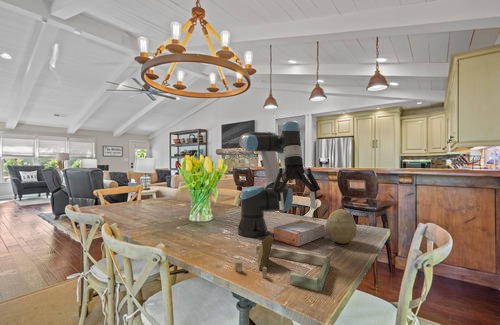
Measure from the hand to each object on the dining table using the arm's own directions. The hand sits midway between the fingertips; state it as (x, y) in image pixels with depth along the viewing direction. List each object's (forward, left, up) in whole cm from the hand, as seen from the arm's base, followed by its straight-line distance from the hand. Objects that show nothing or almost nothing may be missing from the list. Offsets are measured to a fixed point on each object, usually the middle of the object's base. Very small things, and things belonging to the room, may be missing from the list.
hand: (298, 209), depth 94 cm
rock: (-9, -15, -18) cm, 25 cm away
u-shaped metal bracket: (-1, -15, -18) cm, 23 cm away
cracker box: (0, +27, -15) cm, 31 cm away
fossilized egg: (+14, +20, -18) cm, 30 cm away
